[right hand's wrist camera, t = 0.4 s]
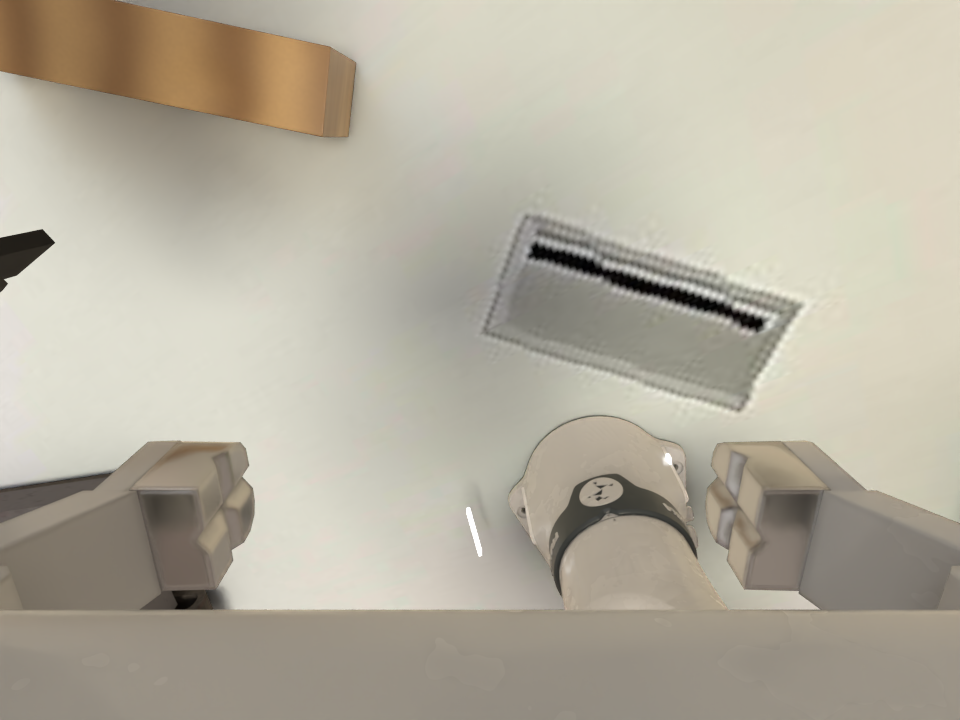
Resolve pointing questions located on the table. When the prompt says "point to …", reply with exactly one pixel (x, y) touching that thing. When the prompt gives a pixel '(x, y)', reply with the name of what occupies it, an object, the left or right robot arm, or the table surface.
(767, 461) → the right robot arm
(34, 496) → the toy
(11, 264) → the left robot arm
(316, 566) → the table surface
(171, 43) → the bar
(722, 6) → the table surface
